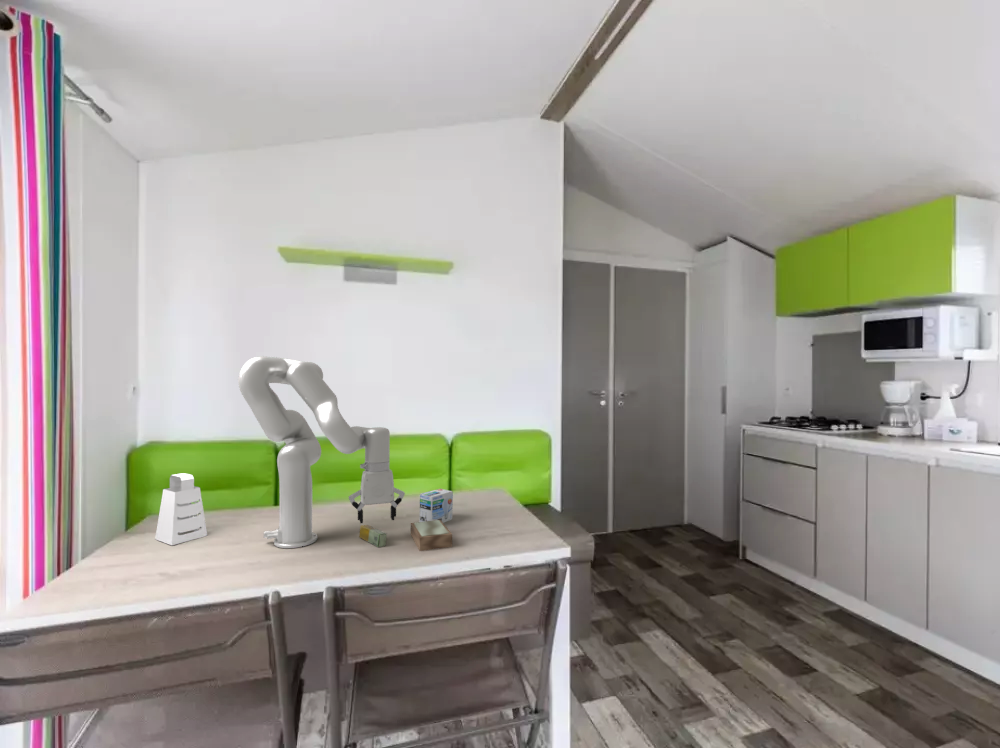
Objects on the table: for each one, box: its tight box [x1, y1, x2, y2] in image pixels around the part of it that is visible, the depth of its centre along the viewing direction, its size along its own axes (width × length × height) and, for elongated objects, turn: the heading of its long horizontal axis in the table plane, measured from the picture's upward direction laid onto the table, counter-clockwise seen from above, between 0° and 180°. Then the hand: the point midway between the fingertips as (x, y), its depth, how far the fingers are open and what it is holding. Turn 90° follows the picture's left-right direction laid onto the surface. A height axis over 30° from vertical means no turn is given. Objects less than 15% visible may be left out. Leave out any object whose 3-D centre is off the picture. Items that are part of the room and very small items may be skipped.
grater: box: [154, 472, 208, 546], centre depth 154 cm, size 10×10×20 cm
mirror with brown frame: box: [410, 520, 453, 552], centre depth 152 cm, size 10×15×4 cm, turn 21°
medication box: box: [358, 524, 388, 548], centre depth 151 cm, size 12×3×4 cm, turn 46°
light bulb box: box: [419, 488, 454, 523], centre depth 171 cm, size 11×7×11 cm, turn 143°
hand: (377, 520), depth 152 cm, fingers open, 9 cm apart
